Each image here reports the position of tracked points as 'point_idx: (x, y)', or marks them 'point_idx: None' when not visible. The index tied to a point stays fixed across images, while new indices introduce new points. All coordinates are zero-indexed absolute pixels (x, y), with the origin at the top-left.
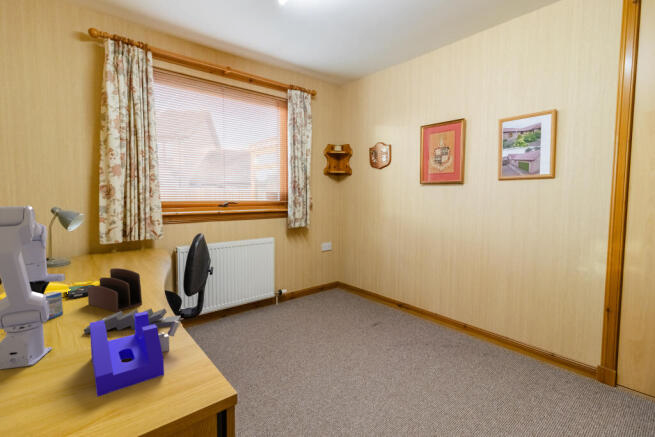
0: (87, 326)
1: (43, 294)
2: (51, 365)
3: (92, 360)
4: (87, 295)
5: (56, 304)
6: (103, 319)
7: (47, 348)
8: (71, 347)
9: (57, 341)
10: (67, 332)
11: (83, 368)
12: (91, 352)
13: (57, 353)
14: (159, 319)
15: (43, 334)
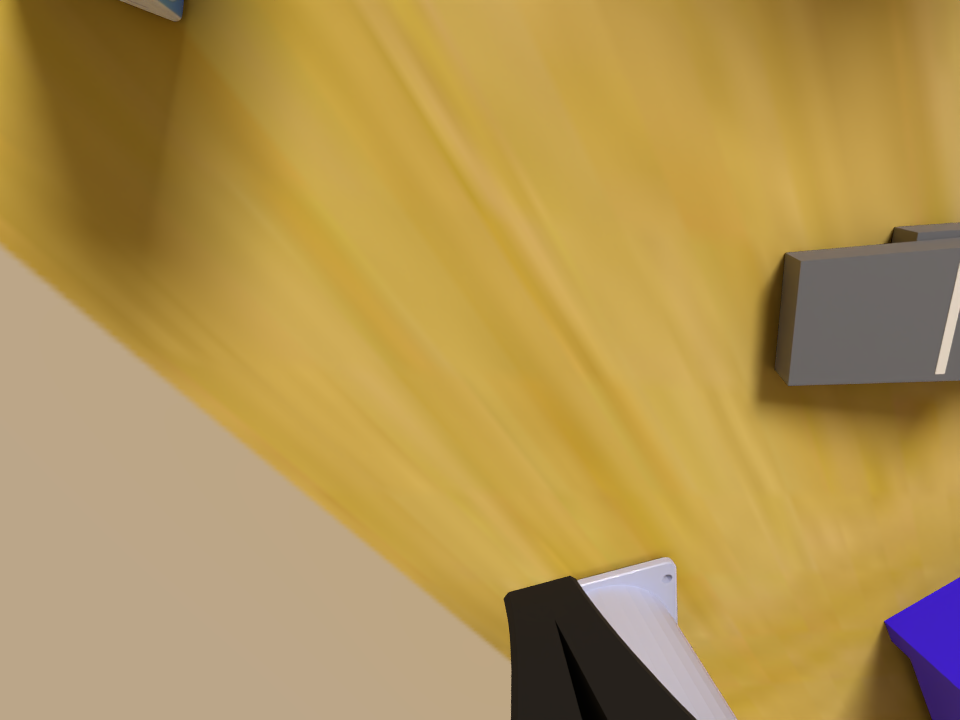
0: (796, 319)
1: (679, 705)
2: (745, 673)
3: (931, 698)
4: None
5: None
6: (954, 304)
7: (657, 575)
8: (759, 534)
9: (642, 465)
10: (631, 326)
11: (872, 680)
12: (929, 671)
13: (718, 589)
14: None
15: (732, 712)
